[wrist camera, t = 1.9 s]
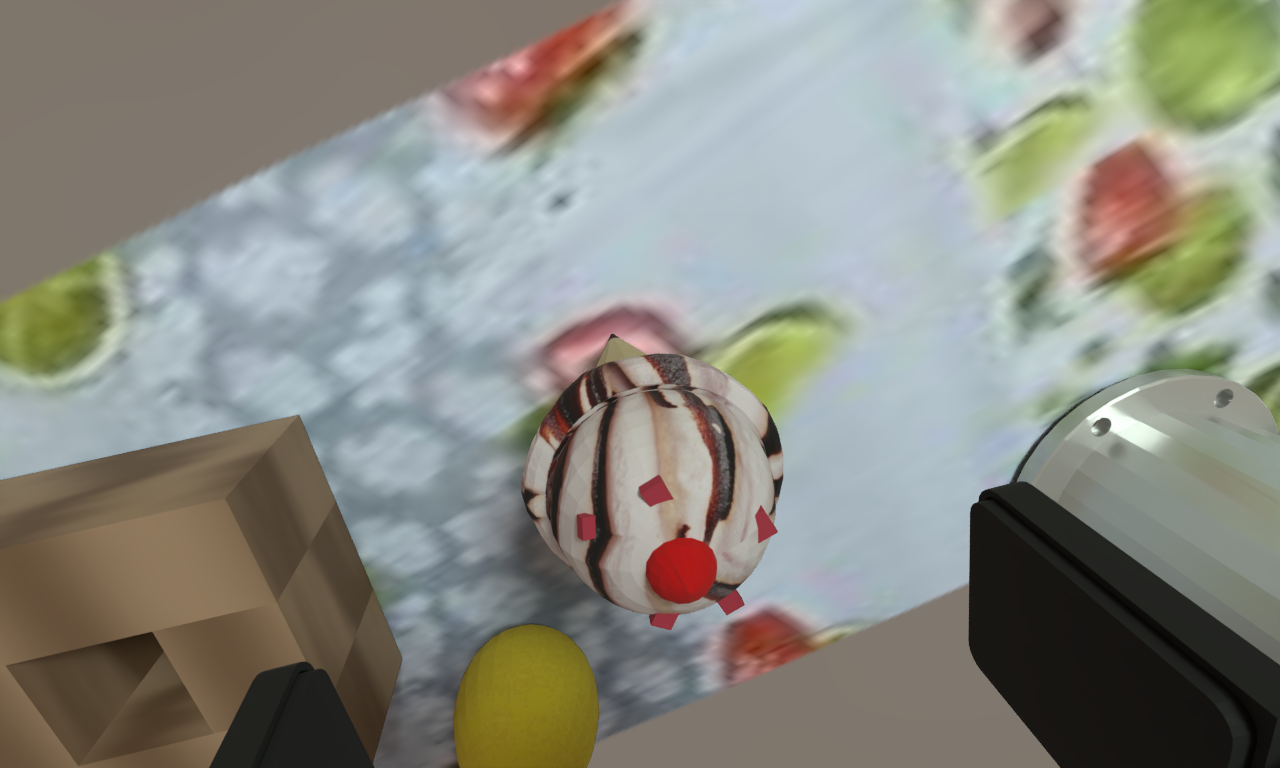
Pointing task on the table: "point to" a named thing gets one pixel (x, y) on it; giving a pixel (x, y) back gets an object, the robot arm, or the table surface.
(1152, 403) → the robot arm
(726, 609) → the ice cream cone
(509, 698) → the lemon
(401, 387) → the table surface
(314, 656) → the cone stand
